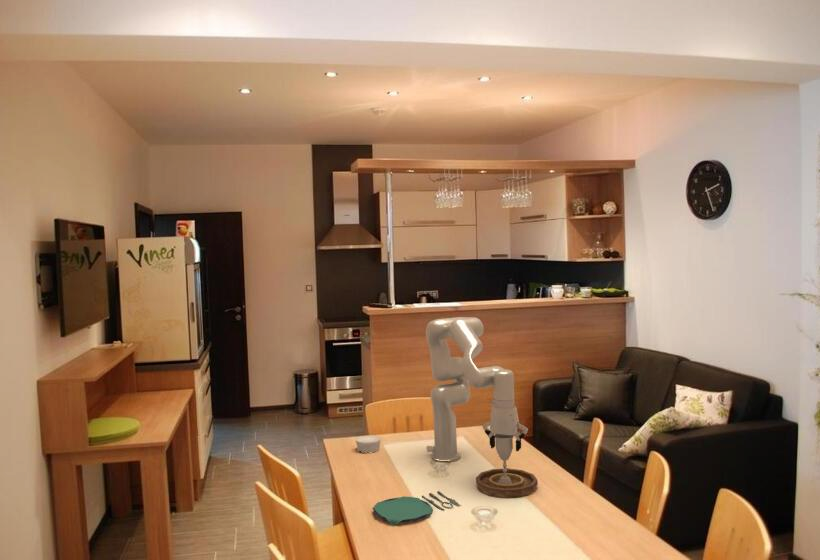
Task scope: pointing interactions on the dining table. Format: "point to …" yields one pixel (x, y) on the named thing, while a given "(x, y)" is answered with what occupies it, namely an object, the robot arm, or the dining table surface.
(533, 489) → the tray
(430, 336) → the robot arm
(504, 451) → the chalice
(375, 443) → the ramekin
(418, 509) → the cutlery set
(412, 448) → the dining table surface
